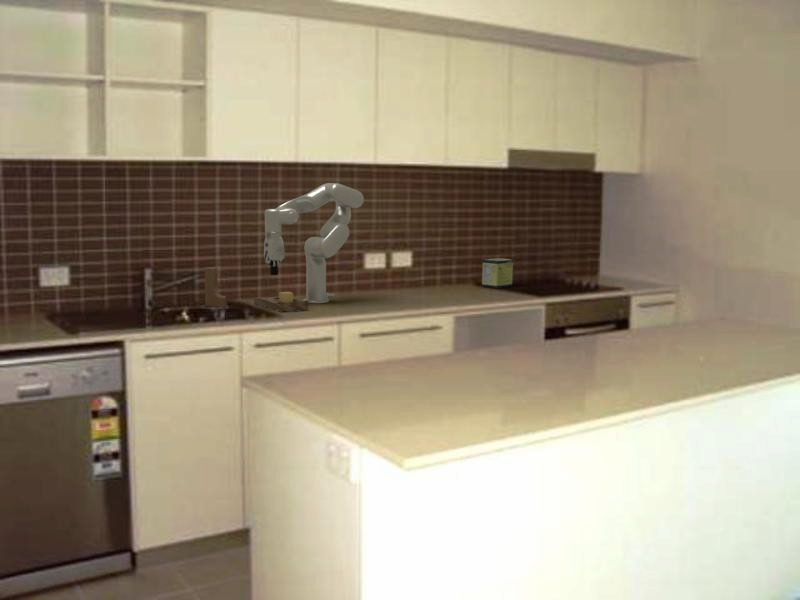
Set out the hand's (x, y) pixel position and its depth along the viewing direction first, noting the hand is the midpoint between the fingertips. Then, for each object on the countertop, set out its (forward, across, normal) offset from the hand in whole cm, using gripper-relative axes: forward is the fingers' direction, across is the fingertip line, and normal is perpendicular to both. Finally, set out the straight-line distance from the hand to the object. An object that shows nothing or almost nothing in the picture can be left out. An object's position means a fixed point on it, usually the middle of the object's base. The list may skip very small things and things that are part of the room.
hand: (274, 274), depth 412 cm
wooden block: (+14, -18, +20) cm, 31 cm away
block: (+12, +3, -4) cm, 14 cm away
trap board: (+15, -1, -4) cm, 15 cm away
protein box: (+18, +133, -50) cm, 144 cm away
